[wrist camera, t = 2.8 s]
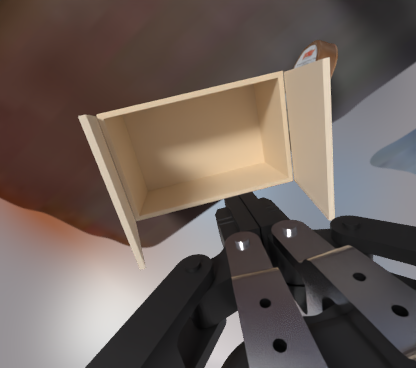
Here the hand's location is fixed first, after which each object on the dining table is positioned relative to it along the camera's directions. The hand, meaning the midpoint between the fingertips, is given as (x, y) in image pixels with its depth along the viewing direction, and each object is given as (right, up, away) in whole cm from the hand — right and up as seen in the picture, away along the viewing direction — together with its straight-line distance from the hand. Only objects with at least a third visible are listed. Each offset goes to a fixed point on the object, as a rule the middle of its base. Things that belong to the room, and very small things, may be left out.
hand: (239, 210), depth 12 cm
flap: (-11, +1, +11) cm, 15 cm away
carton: (-3, +9, +26) cm, 28 cm away
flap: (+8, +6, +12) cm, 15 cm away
